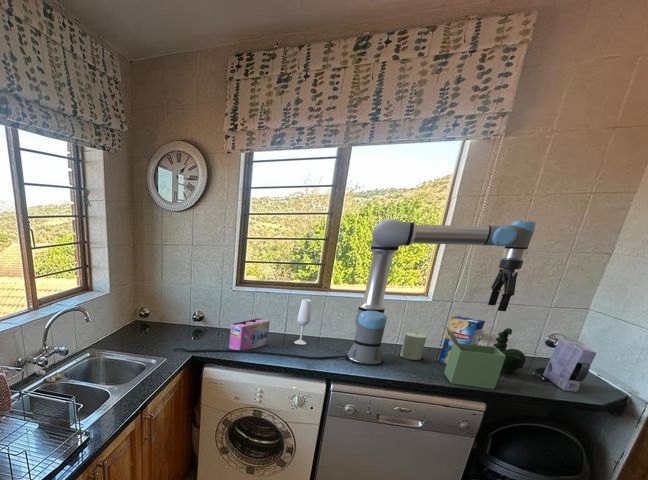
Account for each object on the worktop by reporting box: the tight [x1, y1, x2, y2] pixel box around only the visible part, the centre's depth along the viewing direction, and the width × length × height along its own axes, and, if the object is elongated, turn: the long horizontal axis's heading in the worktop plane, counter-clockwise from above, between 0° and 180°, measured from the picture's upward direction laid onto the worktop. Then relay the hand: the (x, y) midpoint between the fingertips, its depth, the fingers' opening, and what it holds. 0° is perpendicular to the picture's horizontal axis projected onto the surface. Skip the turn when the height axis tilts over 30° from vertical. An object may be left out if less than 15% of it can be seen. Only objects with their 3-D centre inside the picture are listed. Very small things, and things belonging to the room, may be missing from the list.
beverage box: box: [438, 315, 486, 365], centre depth 190 cm, size 7×11×22 cm, turn 28°
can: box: [399, 332, 428, 361], centre depth 201 cm, size 9×9×12 cm
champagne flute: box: [293, 298, 312, 345], centre depth 220 cm, size 7×7×24 cm
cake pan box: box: [542, 338, 597, 393], centre depth 167 cm, size 19×5×18 cm, turn 158°
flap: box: [445, 326, 461, 349], centre depth 170 cm, size 7×13×1 cm
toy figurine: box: [492, 327, 527, 375], centre depth 184 cm, size 9×19×25 cm
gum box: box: [228, 317, 271, 350], centre depth 215 cm, size 24×8×14 cm, turn 126°
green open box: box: [443, 343, 506, 390], centre depth 171 cm, size 15×13×14 cm
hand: (496, 308), depth 180 cm, fingers open, 13 cm apart
